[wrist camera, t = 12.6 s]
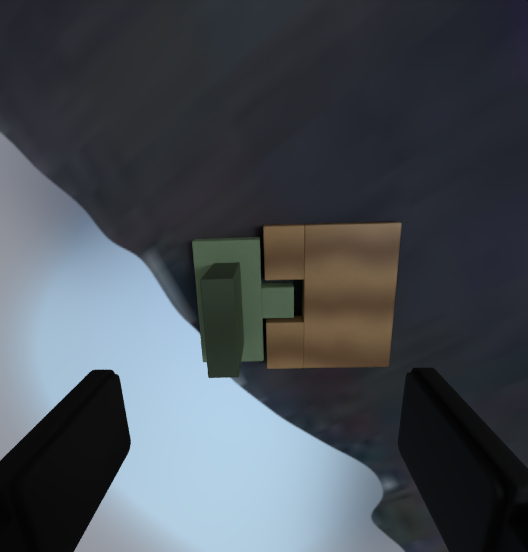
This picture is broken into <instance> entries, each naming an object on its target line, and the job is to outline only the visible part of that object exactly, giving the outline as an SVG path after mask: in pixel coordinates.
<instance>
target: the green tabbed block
mask: <svg viewBox="0 0 528 552" xmlns="http://www.w3.org/2000/svg"><path fill="white" fill-rule="evenodd" d="M192 247H193V258H194V269H195V280H196V291H197V302H198V313H199V324H200V335H201V346H202V356H203V362H207V367H208V377H209V378H220V377H239V372H240V366H241V361H263V360H264V343H263V318H294V287H293V284H292V282H284V283H262V284H261V254H260V237H243V238H208V239H196V240H194V241H192Z"/></svg>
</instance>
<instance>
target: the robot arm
mask: <svg viewBox="0 0 528 552" xmlns="http://www.w3.org/2000/svg"><path fill="white" fill-rule="evenodd" d="M130 441H131V440H130V435H129V428H128V423H127V418H126V412H125V406H124V400H123V395H122V389H121V383H120V379H119V376H118V375H117V374H115V373H114V372H113V370H92V371H91V372H90V373H89V374H88V375H87V376H86V377H85V378H84V379H83V380H82V381H81V382H80V383H79V384H78V385H77V386H76V387H75V388H74V389H73V390H71V391H70V393H68V394H67V395H66V396H65V398H63V399H62V401H61V402H59V403H58V404H57V405H56V406H55V407H54V409H52V410H51V411H50V412H49V413H48V414H47V415H46V416H45V417H44V418H43V419H42V420H41V421H40V422H39V423H38V424H37V425H36V426H35V427H34V428H33V429H32V430H31V431H30V432H29V433H28V434H27V435H26V436H25V437H24V438H23V439H22V440H21V441H20V442H19V443H18V444H17V445H16V446H15V447H14V448H13V449H12V450H11V451H10V452H9V453H8V454H7V455H6V456H5V457H4V458H3V459H2V460H1V461H0V552H74V550H75V548H76V547H77V545H78V543H79V541H80V539H81V538H82V536H83V534H84V532H85V530H86V528H87V527H88V525H89V523H90V521H91V519H92V518H93V516H94V514H95V512H96V510H97V509H98V507H99V505H100V503H101V501H102V499H103V498H104V496H105V494H106V492H107V490H108V489H109V487H110V485H111V483H112V481H113V480H114V477H115V476H116V474H117V472H118V471H119V469H120V467H121V465H122V463H123V461H124V460H125V458H126V456H127V454H128V452H129V449H130V444H131V442H130ZM398 446H399V451H400V453H401V456H402V458H403V460H404V462H405V464H406V466H407V468H408V470H409V472H410V474H411V476H412V478H413V480H414V482H415V484H416V486H417V488H418V490H419V492H420V494H421V496H422V498H423V500H424V502H425V504H426V506H427V508H428V510H429V512H430V514H431V516H432V518H433V520H434V522H435V524H436V526H437V528H438V530H439V532H440V534H441V536H442V538H443V540H444V542H445V544H446V546H447V548H448V550H449V552H528V468H527V467H526V466H525V465H524V464H523V463H522V462H521V461H520V460H519V459H518V458H517V457H516V456H515V455H514V453H513V452H512V451H511V450H510V449H509V448H508V447H507V446H506V445H505V444H504V443H503V442H502V441H501V439H500V438H499V437H498V436H497V435H496V434H495V433H494V432H493V431H492V430H491V429H490V428H489V427H488V426H487V424H486V423H485V422H484V421H483V420H482V419H481V418H480V417H479V416H478V415H477V414H476V413H475V412H474V411H473V409H472V408H471V407H470V406H469V405H468V404H467V403H466V402H465V401H464V400H463V399H462V398H461V397H460V396H459V394H458V393H457V392H456V391H455V390H454V389H453V388H452V387H451V386H450V385H449V384H448V383H447V382H446V381H445V379H444V378H443V377H442V376H441V375H440V374H439V373H438V372H437V371H436V370H435V369H434V368H413V369H412V371H411V373H407V375H406V380H405V388H404V396H403V404H402V412H401V420H400V428H399V436H398Z"/></svg>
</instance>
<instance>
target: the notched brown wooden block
mask: <svg viewBox="0 0 528 552" xmlns="http://www.w3.org/2000/svg"><path fill="white" fill-rule="evenodd" d="M400 235H401V223H400V222H394V221H387V222H349V223H312V224H275V225H264V226H263V237H264V273H265V280H301V279H302V316H294V318H266V345H267V369H281V368H303V367H304V368H337V367H388V366H389V359H390V347H391V336H392V325H393V314H394V302H395V291H396V280H397V269H398V257H399V246H400Z"/></svg>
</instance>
